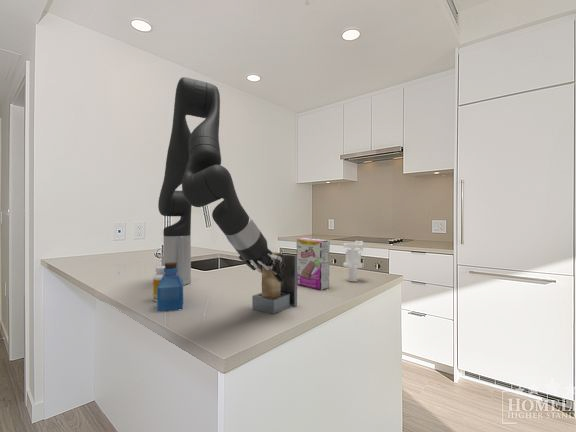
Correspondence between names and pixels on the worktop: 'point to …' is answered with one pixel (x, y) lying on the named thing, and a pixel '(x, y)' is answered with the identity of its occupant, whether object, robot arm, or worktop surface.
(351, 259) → the white upright piece
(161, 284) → the perfume bottle
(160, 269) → the supplement bottle
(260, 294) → the grey holder with backboard
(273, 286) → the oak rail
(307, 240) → the candy bar box
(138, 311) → the worktop surface
